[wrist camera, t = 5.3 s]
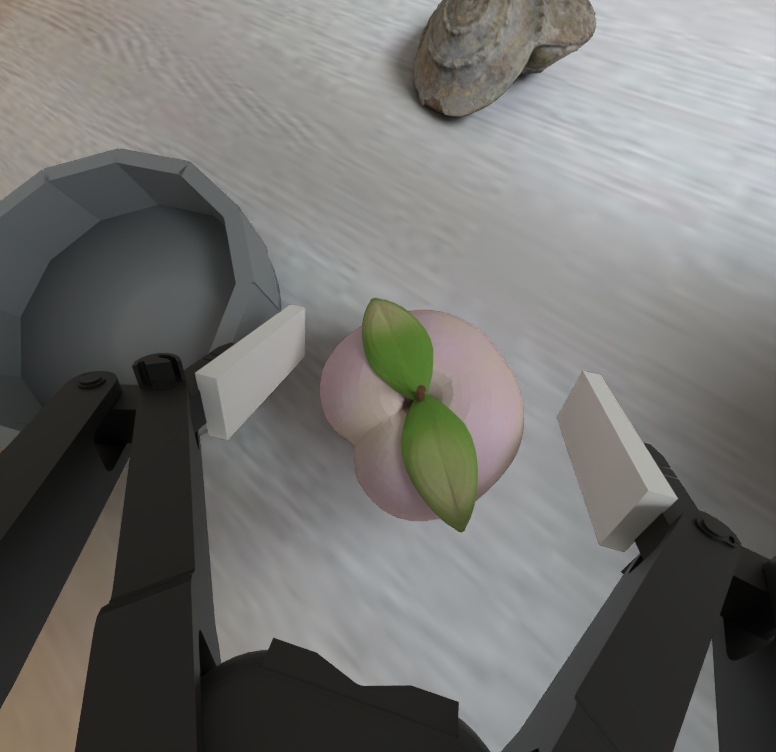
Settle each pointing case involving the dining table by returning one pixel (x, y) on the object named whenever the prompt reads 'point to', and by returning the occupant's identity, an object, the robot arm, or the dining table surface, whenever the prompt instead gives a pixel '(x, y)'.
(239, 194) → the dining table surface
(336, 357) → the decorative fruit
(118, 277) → the bowl
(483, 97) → the fossilized seashell
